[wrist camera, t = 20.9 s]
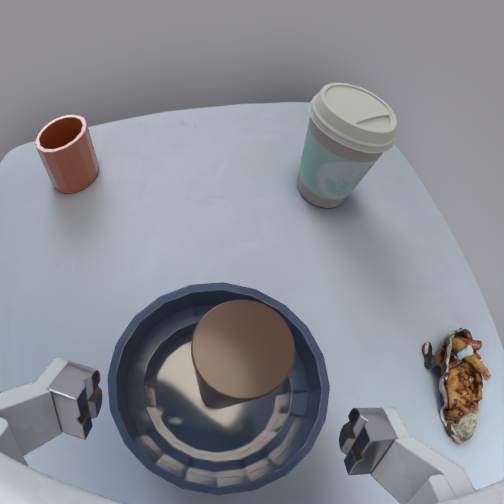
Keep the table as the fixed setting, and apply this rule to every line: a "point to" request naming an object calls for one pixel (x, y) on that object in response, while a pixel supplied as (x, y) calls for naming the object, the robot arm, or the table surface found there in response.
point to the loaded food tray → (459, 382)
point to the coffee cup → (343, 142)
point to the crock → (68, 153)
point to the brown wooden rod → (240, 353)
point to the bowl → (198, 413)
